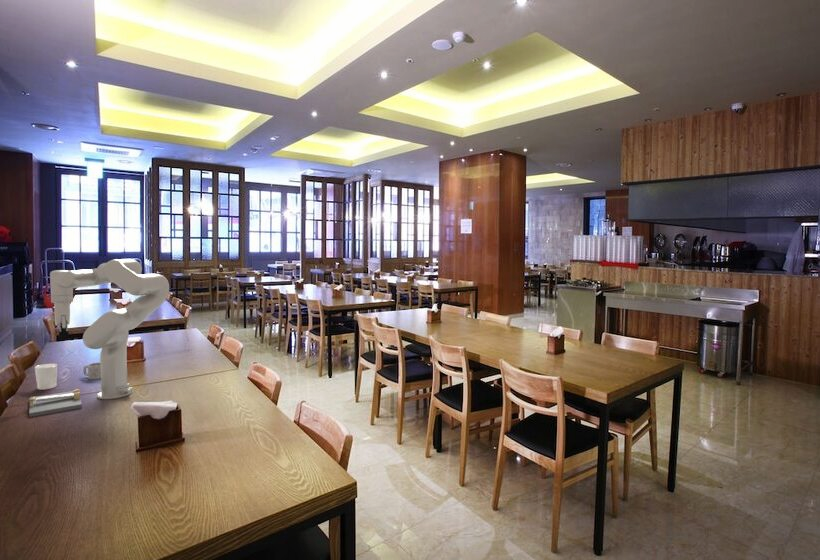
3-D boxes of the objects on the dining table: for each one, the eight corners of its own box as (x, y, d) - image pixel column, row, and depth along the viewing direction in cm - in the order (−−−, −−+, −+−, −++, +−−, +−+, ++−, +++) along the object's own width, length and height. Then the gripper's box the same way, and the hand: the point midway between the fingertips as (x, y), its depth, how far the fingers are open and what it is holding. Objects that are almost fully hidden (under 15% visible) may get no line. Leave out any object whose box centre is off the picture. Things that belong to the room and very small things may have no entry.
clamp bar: (78, 395, 188) (78, 392, 188) (79, 397, 186) (79, 394, 186) (36, 400, 179) (36, 396, 179) (36, 402, 177) (36, 399, 177)
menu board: (78, 393, 196) (77, 384, 195) (81, 407, 179) (81, 397, 178) (30, 401, 186) (29, 391, 185) (29, 417, 169) (28, 406, 168)
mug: (108, 375, 222) (107, 362, 222) (97, 379, 216) (97, 366, 215) (89, 375, 223) (89, 362, 223) (78, 379, 217) (77, 365, 216)
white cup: (48, 390, 199) (47, 368, 199) (31, 390, 200) (29, 368, 199) (62, 384, 207) (61, 363, 206) (45, 384, 207) (44, 363, 207)
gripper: (50, 297, 198) (52, 338, 200) (51, 300, 187) (53, 344, 188) (71, 296, 203) (73, 336, 204) (74, 299, 192) (75, 342, 193)
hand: (63, 340), depth 196 cm, fingers closed
